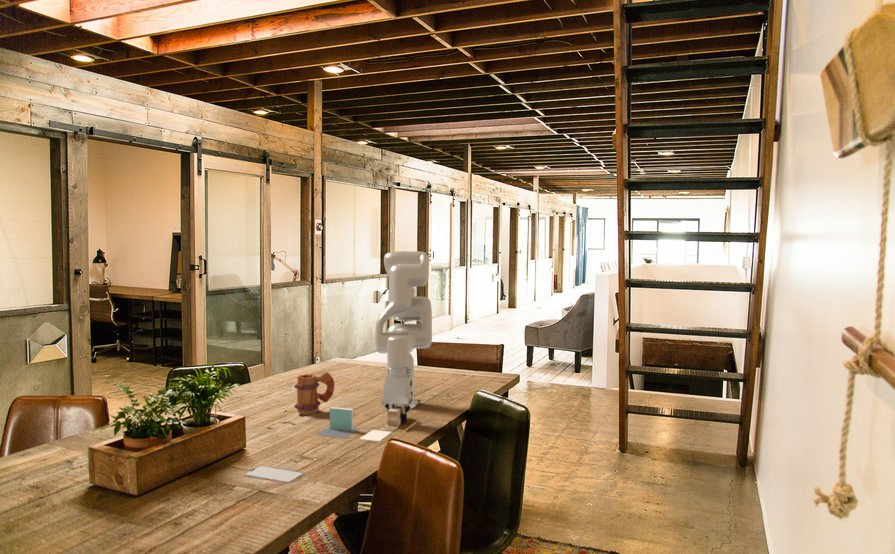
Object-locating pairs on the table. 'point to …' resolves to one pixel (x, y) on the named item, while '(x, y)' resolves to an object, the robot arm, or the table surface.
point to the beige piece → (394, 418)
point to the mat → (336, 432)
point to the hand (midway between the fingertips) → (398, 423)
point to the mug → (312, 392)
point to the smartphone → (273, 474)
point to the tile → (341, 419)
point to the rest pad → (375, 435)
